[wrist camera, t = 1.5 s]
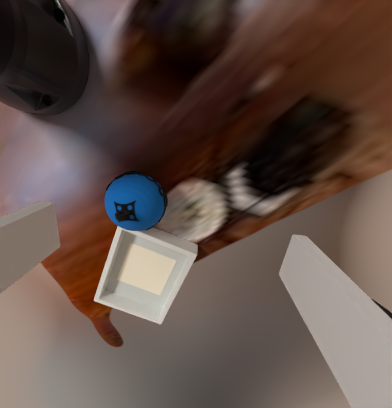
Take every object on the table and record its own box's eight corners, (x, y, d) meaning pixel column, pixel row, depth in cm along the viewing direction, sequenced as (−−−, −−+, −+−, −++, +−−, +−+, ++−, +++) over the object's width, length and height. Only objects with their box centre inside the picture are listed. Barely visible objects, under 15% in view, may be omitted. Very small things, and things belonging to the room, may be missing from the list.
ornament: (168, 166, 29) (150, 179, 20) (173, 216, 32) (160, 249, 22) (114, 169, 30) (72, 183, 20) (124, 218, 32) (92, 251, 23)
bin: (101, 288, 38) (93, 300, 35) (126, 216, 32) (118, 223, 29) (164, 311, 39) (160, 324, 36) (197, 245, 34) (197, 254, 31)
